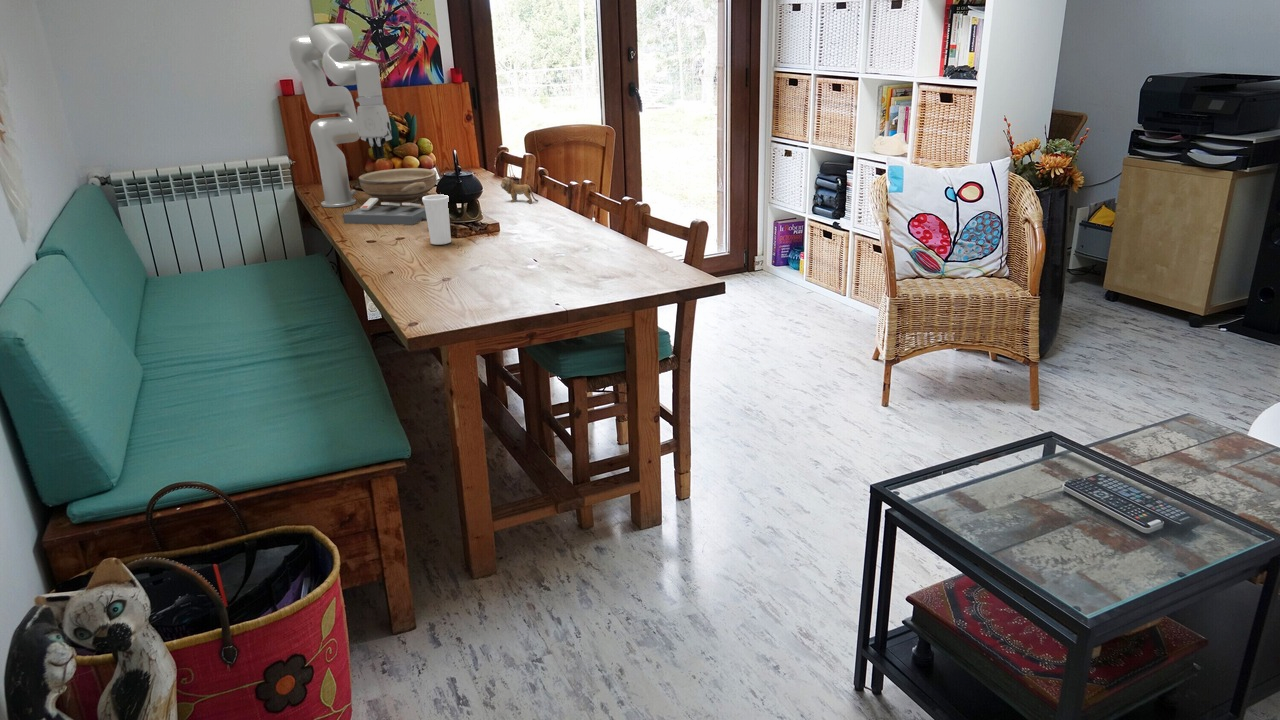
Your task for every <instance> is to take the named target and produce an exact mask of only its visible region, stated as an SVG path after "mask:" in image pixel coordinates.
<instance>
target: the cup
mask: <svg viewBox="0 0 1280 720" xmlns="http://www.w3.org/2000/svg"><path fill="white" fill-rule="evenodd" d="M421 200H422V203H423V205H424V207H425V211H426V217H427V221H426V222H427V228H428V234H429V241H430V244H431V245H438V246H439V245H446V244H450V243H451V242H452V237H451V236H452V235H451V225H450V223H451V221H450V214H449V208H448V202H449V196H448V195H444V194H441V193H440V194H429V195H425V196H422V198H421Z"/></svg>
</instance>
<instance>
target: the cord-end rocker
mask: <svg viewBox="0 0 1280 720" xmlns="http://www.w3.org/2000/svg"><path fill="white" fill-rule="evenodd" d="M401 206H404V207H422V204H421V203H415V202H412V203H402V204H401Z"/></svg>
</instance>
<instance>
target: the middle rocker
mask: <svg viewBox="0 0 1280 720" xmlns="http://www.w3.org/2000/svg"><path fill="white" fill-rule="evenodd" d="M381 205H382V206H389V207H401V204H398V203H390V202H383V201H381V202H380V206H381Z"/></svg>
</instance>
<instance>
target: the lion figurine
mask: <svg viewBox="0 0 1280 720" xmlns="http://www.w3.org/2000/svg"><path fill="white" fill-rule="evenodd" d="M500 188H501V189H502V190H503V191H505V192H506V193H507V194H509V195H510V197H511V199H512V200H510V203H515V202H517V201H518V197H517V196H519V195H524V196H525V197H526V198H527V202H528V204H529V205H531V204H532V203H533V200H534V201H535V202H539V199H537V198H535V196H534V193H533V190H532V188H531V186H530V185H529V184H527V183H526V184H519V183H518V182H517V181H516V180H513V179H512V178H510V177H505V176H504V177H503V178H501V184H500ZM532 199H533V200H532Z"/></svg>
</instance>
